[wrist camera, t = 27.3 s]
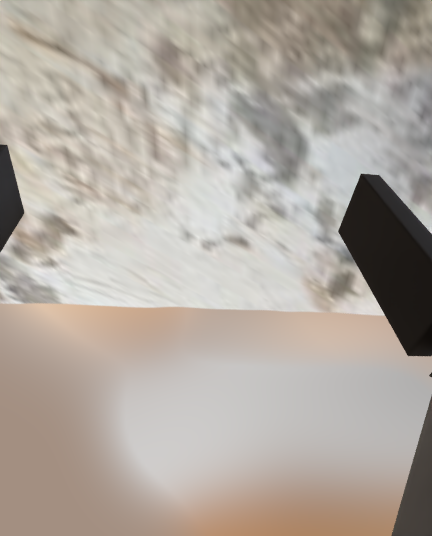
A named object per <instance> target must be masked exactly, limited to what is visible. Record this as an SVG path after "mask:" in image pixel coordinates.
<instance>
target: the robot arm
mask: <svg viewBox="0 0 432 536" xmlns="http://www.w3.org/2000/svg"><path fill="white" fill-rule="evenodd" d="M23 214H24V209H23V205H22V202H21V198H20V194H19V190H18V186H17V182H16V178H15V174H14V170H13V166H12V162H11V158H10V154H9V150H8V146H7V145H0V252H1V250H2V249H3V247H4V245H5V244H6V242H7V241H8V239H9V237H10V236H11V234H12V232H13V231H14V229H15V227H16V226H17V224H18V222H19V221H20V219H21V218H22V216H23ZM338 232H339V234H340V235H341V237H342V239H343V241H344V243H345V244H346V246H347V248H348V250H349V252H350V253H351V255H352V257H353V259H354V260H355V262H356V264H357V266H358V268H359V269H360V271H361V273H362V275H363V277H364V278H365V280H366V282H367V284H368V285H369V287H370V289H371V291H372V293H373V294H374V296H375V298H376V300H377V302H378V303H379V305H380V307H381V309H382V310H383V312H384V314H385V316H386V318H387V319H388V321H389V323H390V325H391V326H392V328H393V330H394V332H395V334H396V335H397V337H398V339H399V341H400V343H401V344H402V346H403V348H404V350H405V351H406V353H407V355H408V356H432V234H431V233H430V232H429V231H428V230H427V228H426V227H425V226H424V225H423V224H422V223H421V222H420V221H419V219H418V218H417V217H416V216H415V215H414V214H413V213H412V212H411V210H410V209H409V208H408V207H407V206H406V205H405V204H404V203H403V201H402V200H401V199H400V198H399V197H398V196H397V195H396V194H395V192H394V191H393V190H392V189H391V188H390V187H389V186H388V184H387V183H386V182H385V181H384V180H383V179H382V178H381V177H380V175H370V174H361V175H360V178H359V180H358V183H357V185H356V188H355V190H354V193H353V195H352V198H351V201H350V203H349V206H348V208H347V211H346V213H345V216H344V218H343V221H342V223H341V226H340V228H339V231H338ZM429 376H430V377H432V373H431V374H430V375H429ZM392 536H432V397H431V400H430V403H429V407H428V410H427V414H426V417H425V421H424V424H423V428H422V431H421V435H420V438H419V442H418V445H417V449H416V452H415V456H414V459H413V463H412V466H411V470H410V473H409V477H408V480H407V484H406V487H405V490H404V494H403V497H402V501H401V504H400V508H399V511H398V515H397V518H396V522H395V525H394V529H393V532H392Z"/></svg>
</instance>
